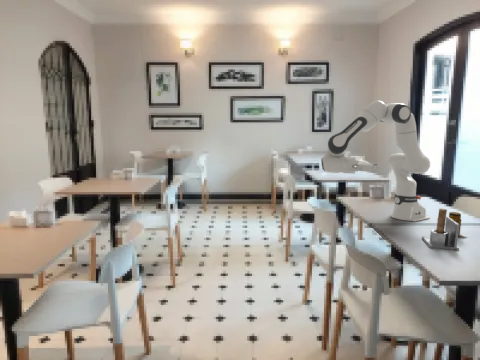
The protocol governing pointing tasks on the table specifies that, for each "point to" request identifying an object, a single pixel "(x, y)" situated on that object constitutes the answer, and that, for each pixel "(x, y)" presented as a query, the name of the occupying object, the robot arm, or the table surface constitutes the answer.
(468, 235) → the table surface
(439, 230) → the wooden cylinder rod
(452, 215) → the condiment
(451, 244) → the cup bracket
